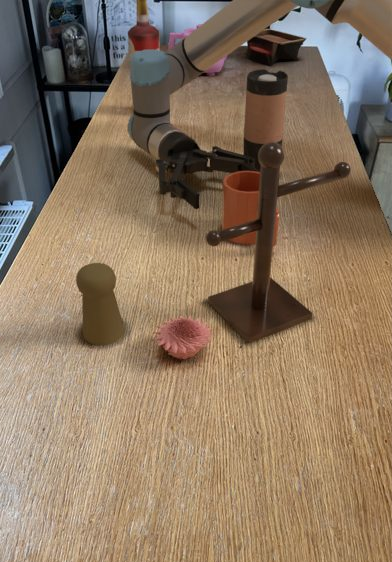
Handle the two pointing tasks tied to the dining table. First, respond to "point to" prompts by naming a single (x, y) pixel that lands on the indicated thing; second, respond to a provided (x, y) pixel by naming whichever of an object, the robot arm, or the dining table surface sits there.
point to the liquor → (143, 31)
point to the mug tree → (265, 256)
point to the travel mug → (264, 110)
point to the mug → (242, 204)
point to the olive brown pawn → (99, 304)
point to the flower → (183, 336)
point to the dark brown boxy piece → (273, 46)
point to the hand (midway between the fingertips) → (231, 192)
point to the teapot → (209, 71)
